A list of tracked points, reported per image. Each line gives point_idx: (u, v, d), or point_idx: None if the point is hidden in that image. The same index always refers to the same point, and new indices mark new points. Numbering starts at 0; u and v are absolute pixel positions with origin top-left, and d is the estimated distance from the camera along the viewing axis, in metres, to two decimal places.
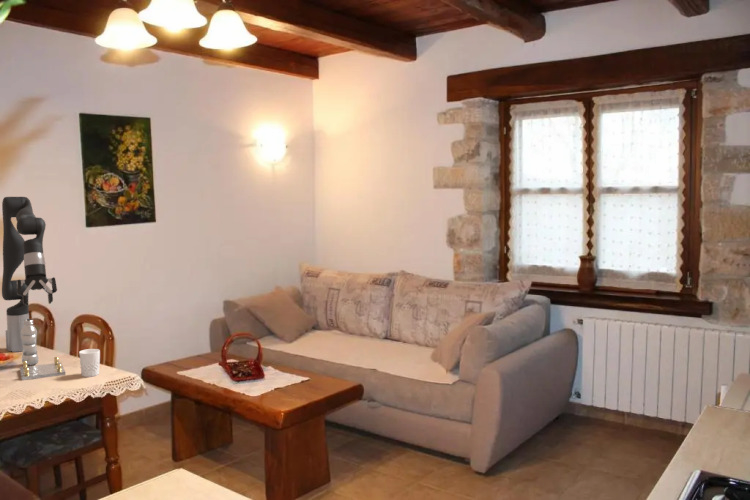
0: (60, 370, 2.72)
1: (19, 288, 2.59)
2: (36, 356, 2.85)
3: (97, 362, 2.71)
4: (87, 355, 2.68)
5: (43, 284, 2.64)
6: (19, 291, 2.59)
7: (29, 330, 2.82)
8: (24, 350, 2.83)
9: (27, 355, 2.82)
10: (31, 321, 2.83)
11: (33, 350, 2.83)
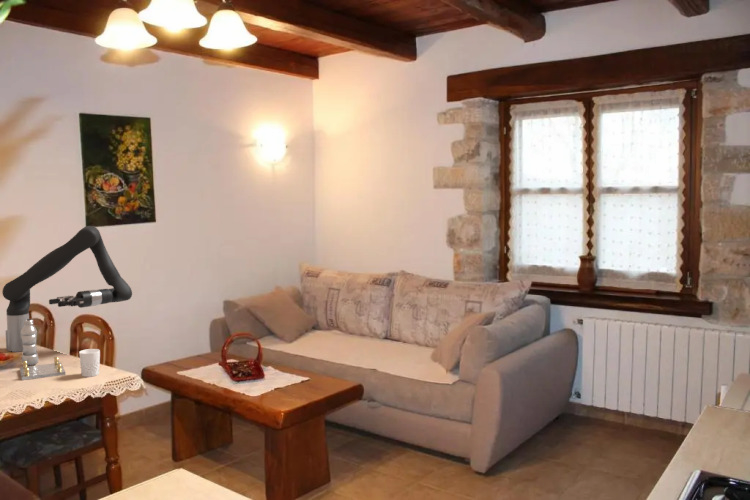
0: (60, 370, 2.72)
1: None
2: (36, 356, 2.85)
3: (97, 362, 2.71)
4: (87, 355, 2.68)
5: None
6: None
7: (29, 330, 2.82)
8: (24, 350, 2.83)
9: (27, 355, 2.82)
10: (31, 321, 2.83)
11: (33, 350, 2.83)
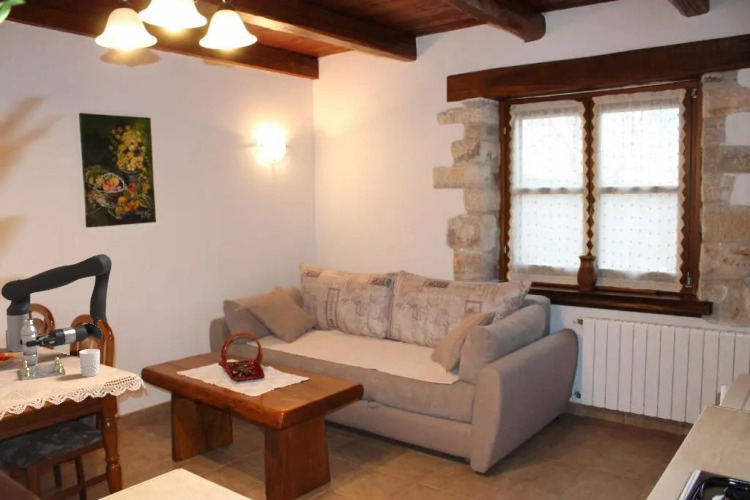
0: (60, 370, 2.72)
1: None
2: (36, 356, 2.85)
3: (97, 362, 2.71)
4: (87, 355, 2.68)
5: None
6: None
7: (29, 329, 2.82)
8: (24, 350, 2.83)
9: (27, 355, 2.82)
10: (31, 321, 2.83)
11: (33, 350, 2.83)
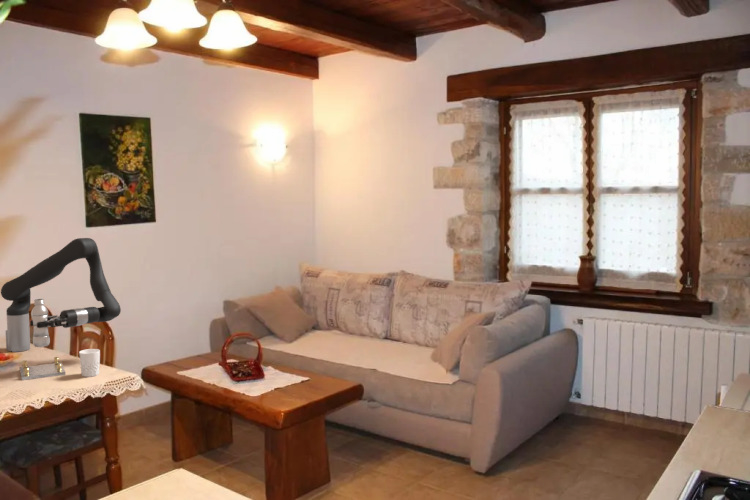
0: (60, 370, 2.72)
1: None
2: (47, 338, 2.73)
3: (97, 362, 2.71)
4: (87, 355, 2.68)
5: None
6: None
7: (40, 310, 2.70)
8: (35, 331, 2.71)
9: (39, 337, 2.70)
10: (42, 301, 2.71)
11: (44, 331, 2.71)
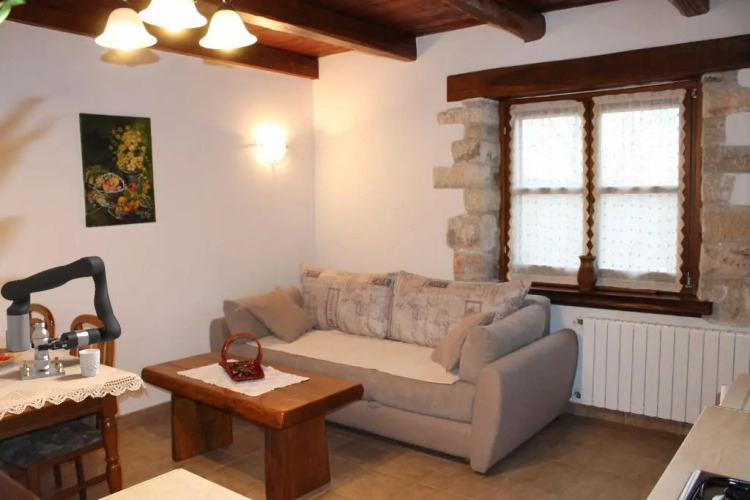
0: (60, 370, 2.72)
1: None
2: (48, 360, 2.74)
3: (97, 362, 2.71)
4: (87, 355, 2.68)
5: None
6: None
7: (41, 333, 2.71)
8: (36, 354, 2.72)
9: (39, 360, 2.71)
10: (43, 324, 2.72)
11: (45, 354, 2.72)
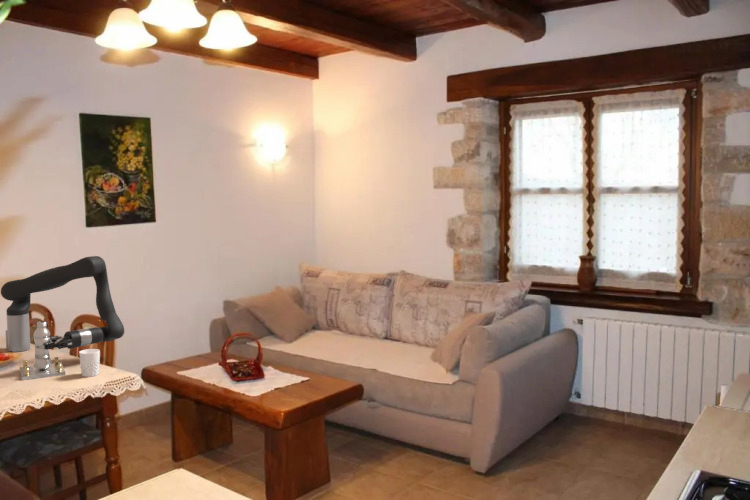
0: (60, 370, 2.72)
1: None
2: (48, 360, 2.75)
3: (97, 362, 2.71)
4: (87, 355, 2.68)
5: None
6: None
7: (42, 332, 2.72)
8: (36, 353, 2.73)
9: (40, 359, 2.73)
10: (44, 323, 2.73)
11: (45, 353, 2.74)
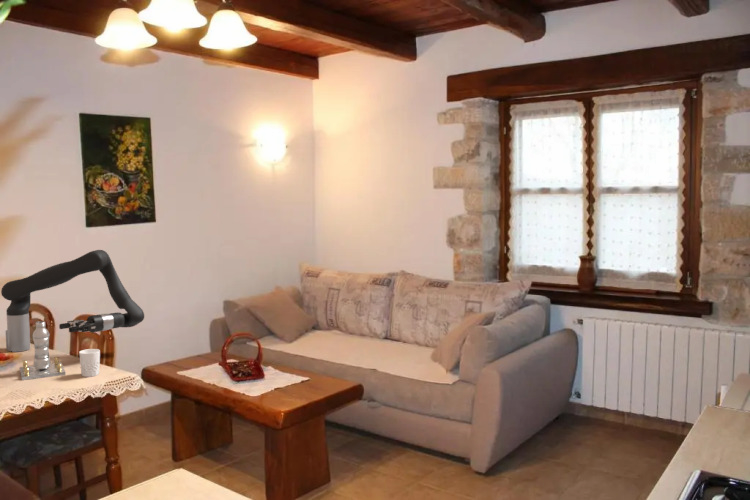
0: (60, 370, 2.72)
1: None
2: (48, 360, 2.75)
3: (97, 362, 2.71)
4: (87, 355, 2.68)
5: None
6: None
7: (41, 332, 2.72)
8: (36, 353, 2.73)
9: (39, 359, 2.73)
10: (43, 323, 2.73)
11: (45, 353, 2.73)
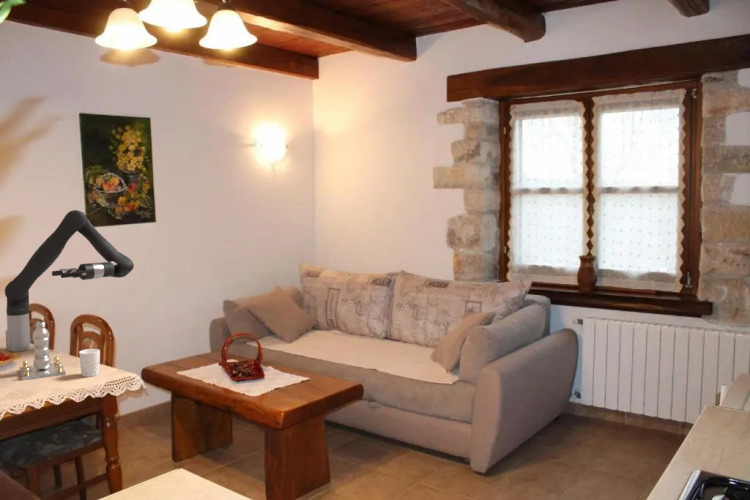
0: (60, 370, 2.72)
1: None
2: (48, 360, 2.75)
3: (97, 362, 2.71)
4: (87, 355, 2.68)
5: None
6: None
7: (41, 332, 2.72)
8: (36, 353, 2.73)
9: (39, 359, 2.73)
10: (43, 323, 2.73)
11: (45, 353, 2.73)
